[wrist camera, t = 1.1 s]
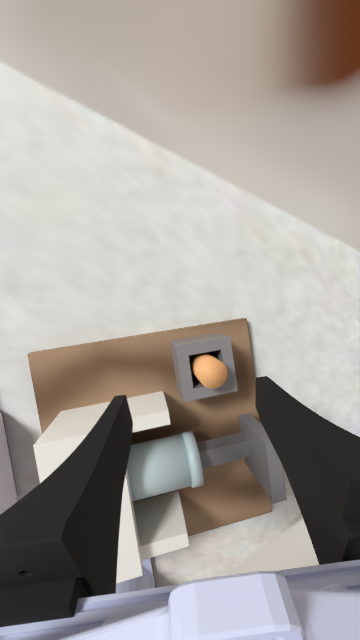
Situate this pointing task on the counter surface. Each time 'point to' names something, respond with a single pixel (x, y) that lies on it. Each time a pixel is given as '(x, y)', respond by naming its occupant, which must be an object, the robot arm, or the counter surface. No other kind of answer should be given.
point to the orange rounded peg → (208, 370)
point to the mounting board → (197, 415)
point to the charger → (6, 473)
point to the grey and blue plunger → (203, 461)
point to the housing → (136, 517)
